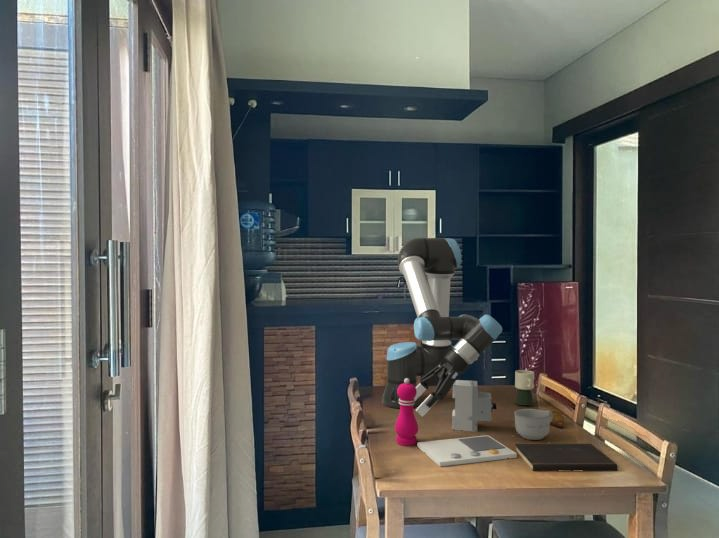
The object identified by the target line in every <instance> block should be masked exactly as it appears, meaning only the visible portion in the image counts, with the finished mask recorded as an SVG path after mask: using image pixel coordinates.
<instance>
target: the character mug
mask: <svg viewBox="0 0 719 538" xmlns="http://www.w3.org/2000/svg"><path fill="white" fill-rule="evenodd" d="M534 380H535V372H534V371H533V370H526V369H518V370H517V369H516V370H515V372H514V387H515V388H516V389H517V392H516V393H517V394H516V398H515V399H516V400H515V404H516V405H519V406H525V407H527V406H533V403H534V402H533V394H532V390H533V389H535V383H534V382H535V381H534Z"/></svg>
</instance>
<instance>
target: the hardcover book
mask: <svg viewBox="0 0 719 538" xmlns="http://www.w3.org/2000/svg"><path fill="white" fill-rule="evenodd" d="M514 446H515V452H516V453H518V454H519V455H520V457H521V458H522V459H523V460H524V462H525V463H526V464H527V465H528V466H529V468H530V469H531V470H532V471H533V472H560V471H559V470H571V471H570V472H574V471H573V470H583V471H582V472H618V469H619V468H618V467H619V466H618V463H616V462H615V461H614V460H612V459H611V458H610V457H608V455H606V454H604V453H603V451H601V450H599V449H598V448H597V447H596V446H594V445H593V444H592V443H514Z"/></svg>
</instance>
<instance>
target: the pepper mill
mask: <svg viewBox="0 0 719 538" xmlns="http://www.w3.org/2000/svg"><path fill="white" fill-rule="evenodd" d="M409 382H410V380H409V379H408V378H406V379H404V383H403V384H401V385H399V387H398V389H397V394H398V396H399V397H400V398H399V404H400V408H399V414H398V417H397V419H396V422H395V423H394V431H395V433H396V434H397V435H396V437H395V438H396V439H395V440H396V441H395V443H396V444H398V445H400V446H403V447H410V446H411V445H412V446H414V444H415V445H416V444H417V440H418V439H417V436H416V435H417V434H418V432H419V425H418V421H417V419H416V417H415V413H414V408H413V405H414V404H415V399H414V397H415V396H416V393H417V391H416V388H415V386H414V385H413V384H410V383H409ZM412 446H411V447H412Z"/></svg>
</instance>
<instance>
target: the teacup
mask: <svg viewBox="0 0 719 538" xmlns="http://www.w3.org/2000/svg"><path fill="white" fill-rule="evenodd" d="M513 414H514V427H515V432H517V434H518V435H519V436H521V438H523V439H525V438H526V440H531V441H538V440H543V439H544V438H545V437H546V436H548V435H549V432H550V422H551V421H552V418H553V415H552V412H551V411H549V410H542V409H538V408H537V409H534V408H522V409H517V410H515V411H514V413H513Z"/></svg>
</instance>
